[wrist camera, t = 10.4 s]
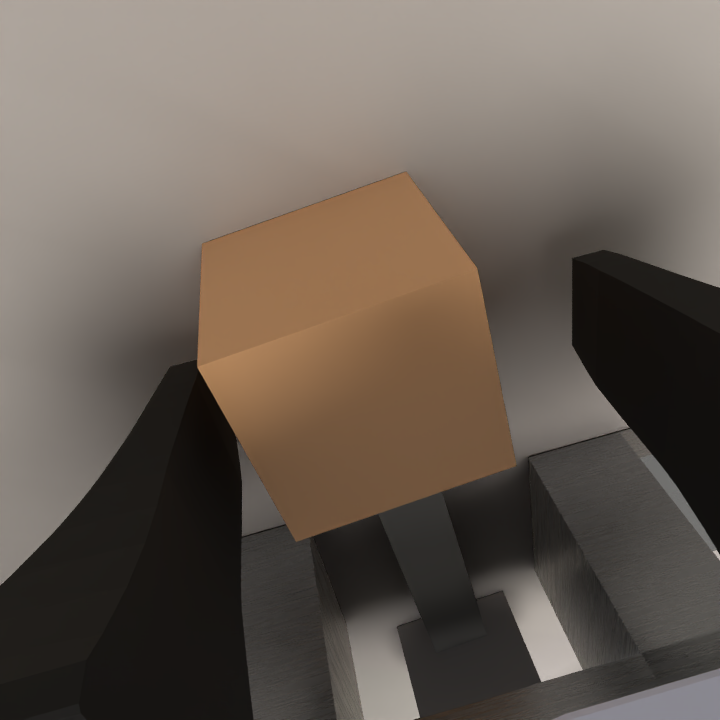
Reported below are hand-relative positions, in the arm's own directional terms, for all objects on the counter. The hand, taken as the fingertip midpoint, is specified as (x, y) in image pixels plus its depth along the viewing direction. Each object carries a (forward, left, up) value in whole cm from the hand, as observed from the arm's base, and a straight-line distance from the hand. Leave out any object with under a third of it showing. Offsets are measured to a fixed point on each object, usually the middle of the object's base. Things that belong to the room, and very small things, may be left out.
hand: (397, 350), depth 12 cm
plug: (-4, -3, -1) cm, 5 cm away
